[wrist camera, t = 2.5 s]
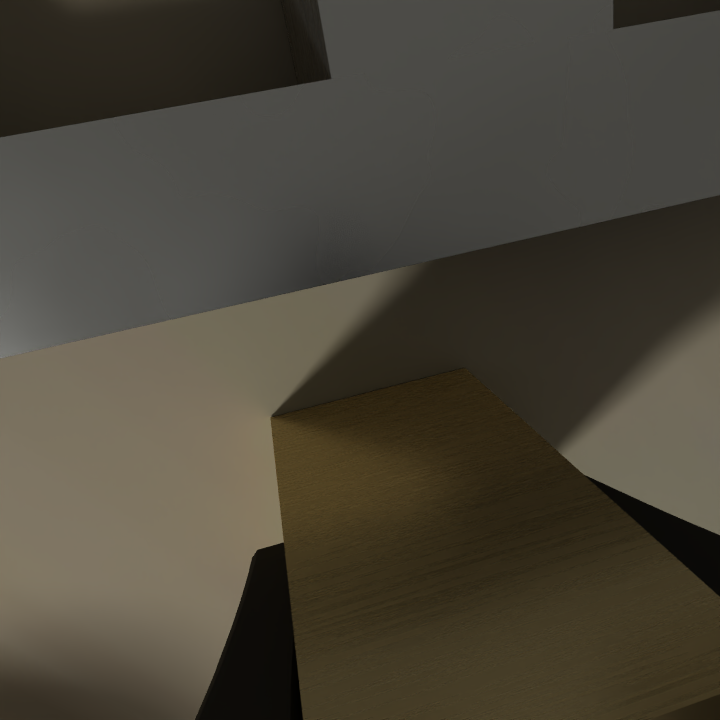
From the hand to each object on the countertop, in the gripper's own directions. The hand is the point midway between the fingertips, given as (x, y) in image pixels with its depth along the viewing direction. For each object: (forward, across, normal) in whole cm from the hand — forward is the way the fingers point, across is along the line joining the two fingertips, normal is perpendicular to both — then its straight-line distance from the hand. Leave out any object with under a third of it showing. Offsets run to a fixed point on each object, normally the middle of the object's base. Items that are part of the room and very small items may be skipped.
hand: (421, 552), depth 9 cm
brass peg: (+2, 0, 0) cm, 2 cm away
